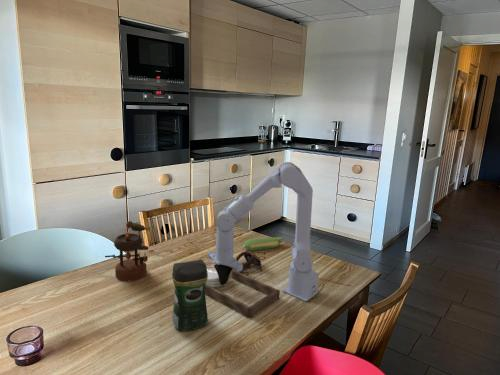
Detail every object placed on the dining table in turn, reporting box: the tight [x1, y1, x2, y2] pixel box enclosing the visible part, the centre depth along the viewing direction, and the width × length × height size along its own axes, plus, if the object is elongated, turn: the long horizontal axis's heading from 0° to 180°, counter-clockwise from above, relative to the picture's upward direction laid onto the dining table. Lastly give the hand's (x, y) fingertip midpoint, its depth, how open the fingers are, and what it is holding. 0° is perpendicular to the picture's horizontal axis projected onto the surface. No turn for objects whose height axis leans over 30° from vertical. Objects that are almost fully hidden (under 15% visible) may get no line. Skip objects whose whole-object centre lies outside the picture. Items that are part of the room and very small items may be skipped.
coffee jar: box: [171, 258, 208, 332], centre depth 101 cm, size 10×8×19 cm
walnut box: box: [205, 269, 281, 319], centre depth 118 cm, size 20×15×3 cm
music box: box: [104, 220, 151, 282], centre depth 126 cm, size 15×11×20 cm
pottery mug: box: [235, 249, 263, 272], centre depth 137 cm, size 12×10×8 cm
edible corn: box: [243, 236, 283, 252], centre depth 157 cm, size 5×20×5 cm
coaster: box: [206, 271, 222, 289], centre depth 126 cm, size 10×10×4 cm
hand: (223, 283), depth 123 cm, fingers closed
